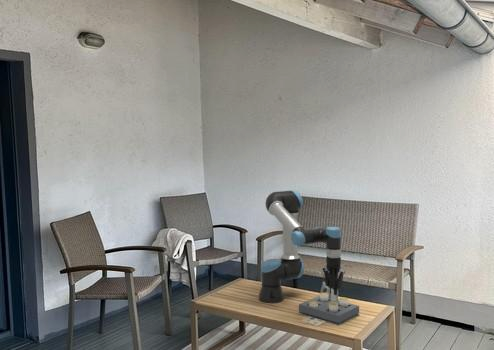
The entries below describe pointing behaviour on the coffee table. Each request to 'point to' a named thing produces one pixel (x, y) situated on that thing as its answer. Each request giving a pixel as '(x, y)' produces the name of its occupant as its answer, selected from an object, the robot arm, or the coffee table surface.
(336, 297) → the mug
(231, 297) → the coffee table surface
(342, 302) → the button
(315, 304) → the button
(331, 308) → the button
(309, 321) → the card
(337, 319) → the console
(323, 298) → the button
